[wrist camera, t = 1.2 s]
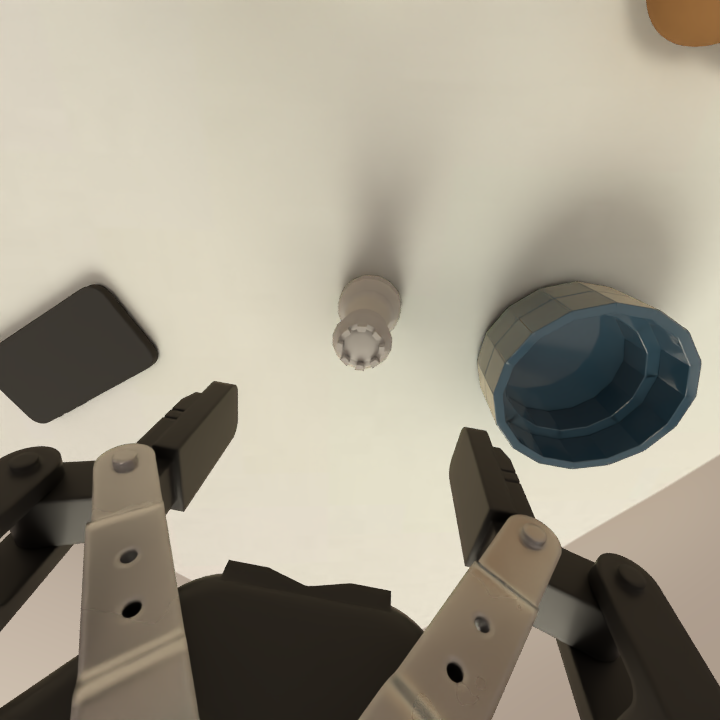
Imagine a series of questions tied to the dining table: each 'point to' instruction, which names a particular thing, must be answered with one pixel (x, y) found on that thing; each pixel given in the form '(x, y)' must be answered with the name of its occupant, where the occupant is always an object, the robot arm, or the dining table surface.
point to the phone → (72, 355)
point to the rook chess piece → (366, 321)
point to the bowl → (586, 375)
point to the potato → (686, 21)
